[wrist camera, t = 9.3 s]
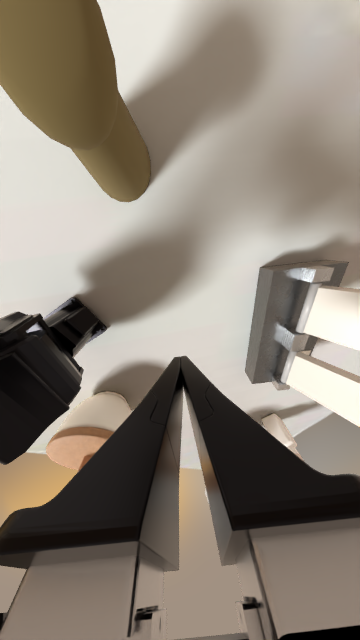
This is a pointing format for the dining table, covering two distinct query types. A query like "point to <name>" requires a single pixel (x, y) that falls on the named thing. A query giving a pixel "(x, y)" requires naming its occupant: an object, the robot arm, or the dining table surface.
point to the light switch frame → (284, 316)
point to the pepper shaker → (73, 88)
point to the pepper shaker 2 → (280, 432)
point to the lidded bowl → (87, 429)
